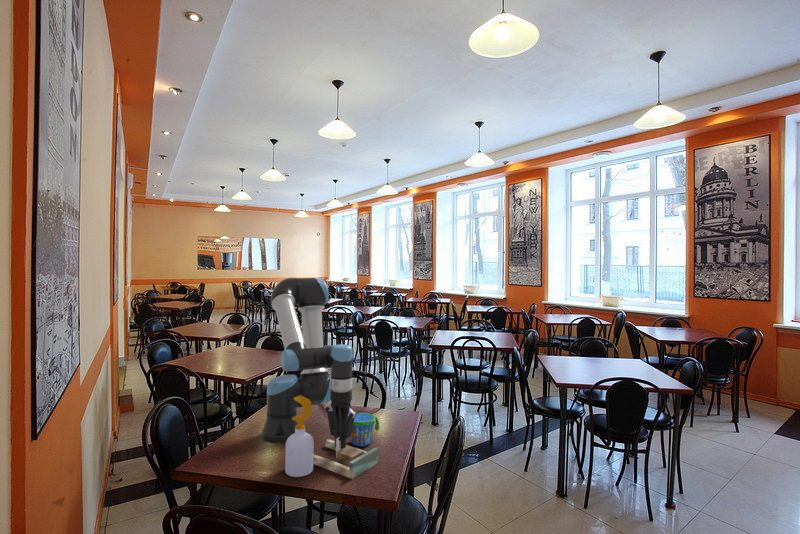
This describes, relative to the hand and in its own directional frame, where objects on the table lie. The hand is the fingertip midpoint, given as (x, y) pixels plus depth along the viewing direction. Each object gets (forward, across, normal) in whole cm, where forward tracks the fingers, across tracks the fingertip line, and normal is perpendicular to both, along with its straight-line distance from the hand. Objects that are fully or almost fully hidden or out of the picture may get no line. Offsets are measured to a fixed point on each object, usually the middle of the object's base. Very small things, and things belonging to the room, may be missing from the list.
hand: (340, 456), depth 143 cm
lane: (+2, 0, 0) cm, 2 cm away
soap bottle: (+2, -6, -13) cm, 15 cm away
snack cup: (+2, -4, +16) cm, 17 cm away
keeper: (+2, +4, 0) cm, 5 cm away
